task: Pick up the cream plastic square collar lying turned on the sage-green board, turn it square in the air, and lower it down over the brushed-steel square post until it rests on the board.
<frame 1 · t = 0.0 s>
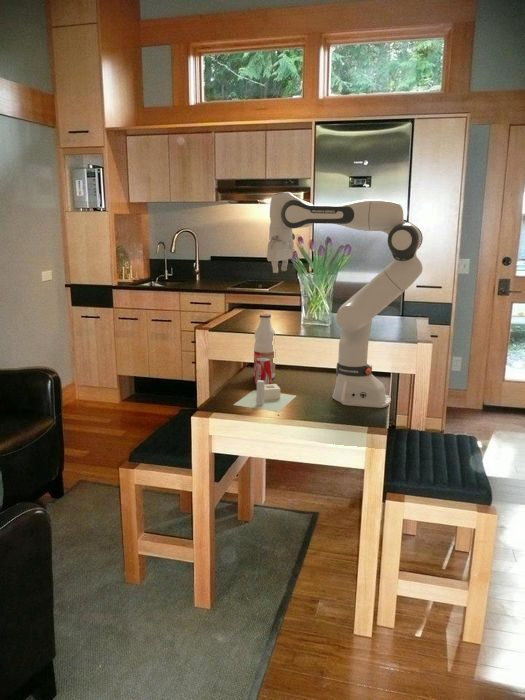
hand: (279, 271, 217), 48 cm above the table, tool pointing down, fingers open, 8 cm apart
square collar: (270, 396, 213), point 1 cm above the table, touching post board
post board: (265, 403, 209), on the table
fruit juice: (264, 377, 245), on the table
soda can: (263, 387, 230), on the table
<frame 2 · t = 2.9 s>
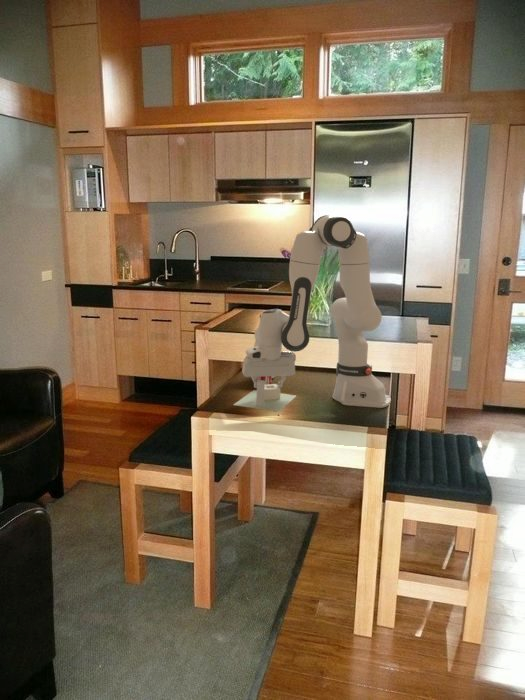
hand: (268, 386, 211), 6 cm above the table, tool pointing down, fingers open, 8 cm apart
square collar: (270, 396, 213), point 1 cm above the table, touching gripper, post board
everything else where it was.
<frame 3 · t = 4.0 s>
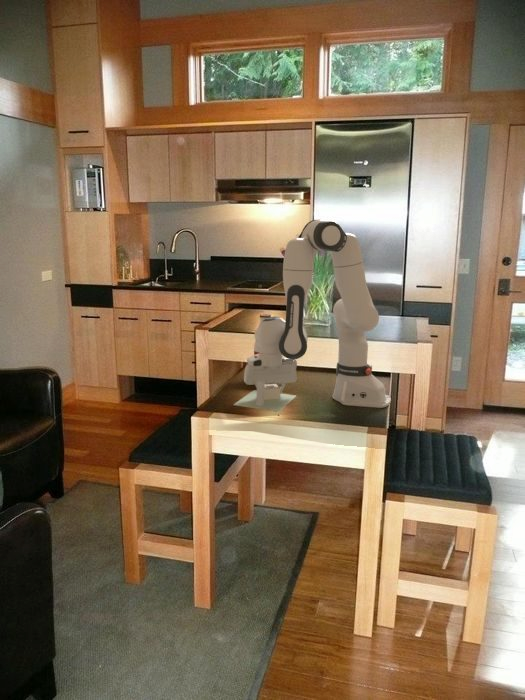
hand: (270, 394, 213), 3 cm above the table, tool pointing down, fingers closed on square collar, 6 cm apart
square collar: (270, 396, 213), point 2 cm above the table, touching gripper, post board
everything else where it was.
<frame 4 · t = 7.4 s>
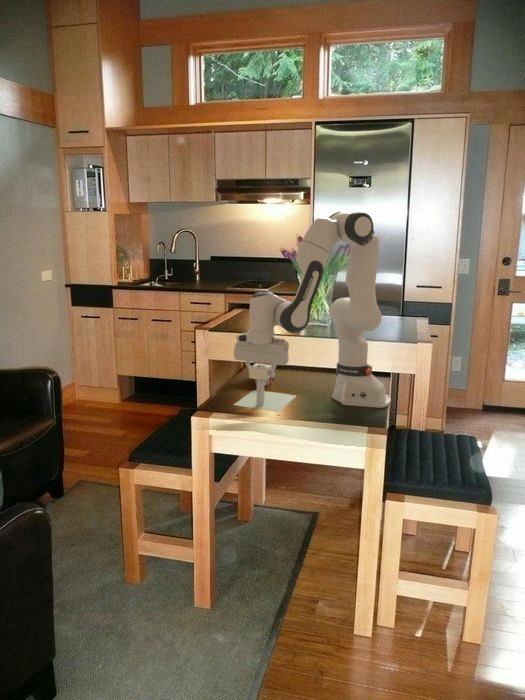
hand: (260, 374, 201), 13 cm above the table, tool pointing down, fingers closed on square collar, 6 cm apart
square collar: (260, 376, 201), point 12 cm above the table, touching gripper
everything else where it was.
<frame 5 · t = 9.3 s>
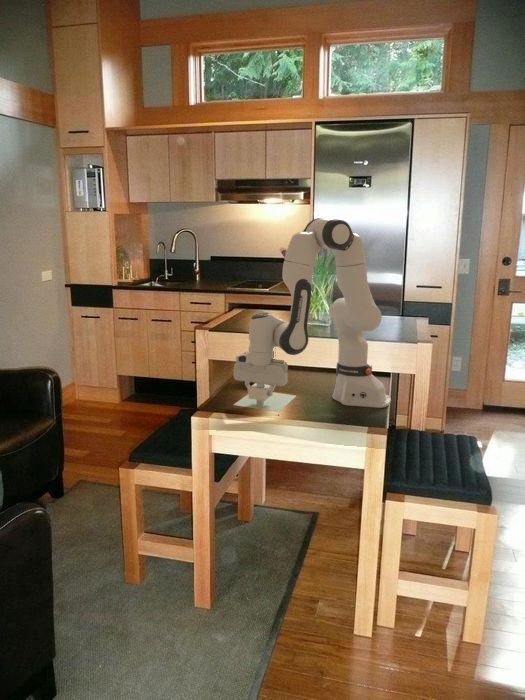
hand: (259, 394, 203), 6 cm above the table, tool pointing down, fingers closed on square collar, 6 cm apart
square collar: (259, 397, 203), point 4 cm above the table, touching gripper
everything else where it was.
when the fingers open (4 cm above the table, at t = 10.8 s): square collar drops 1 cm, resting on post board.
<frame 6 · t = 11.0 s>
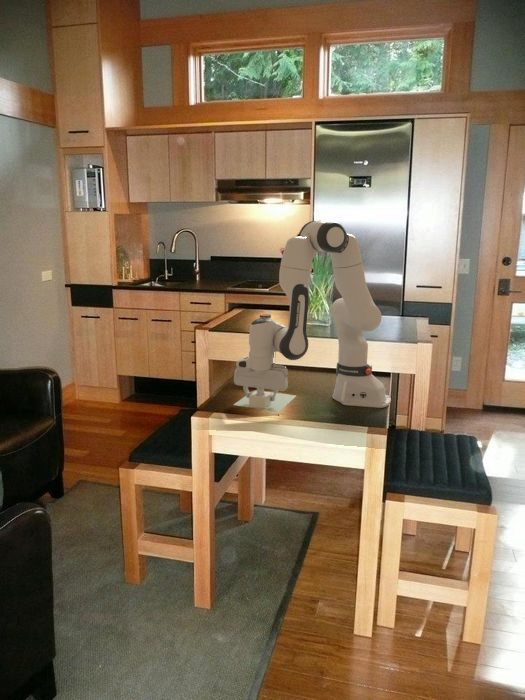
hand: (260, 399, 203), 4 cm above the table, tool pointing down, fingers open, 8 cm apart
square collar: (260, 404, 204), point 1 cm above the table, touching post board
everything else where it was.
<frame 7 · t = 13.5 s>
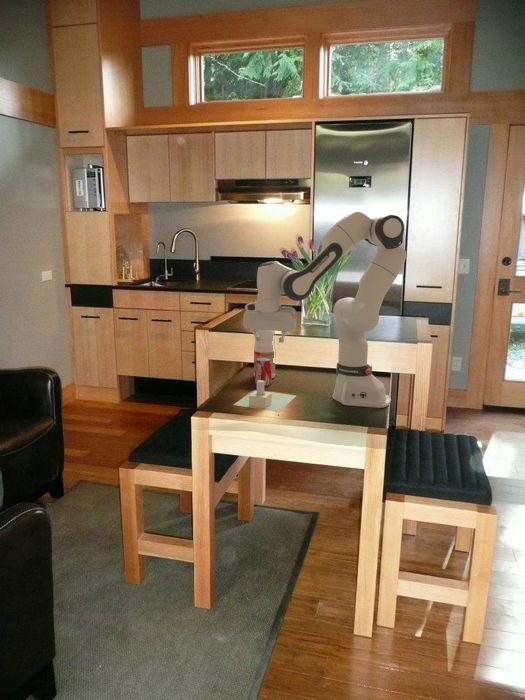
hand: (269, 341, 209), 23 cm above the table, tool pointing down, fingers open, 8 cm apart
nothing on the table moved.
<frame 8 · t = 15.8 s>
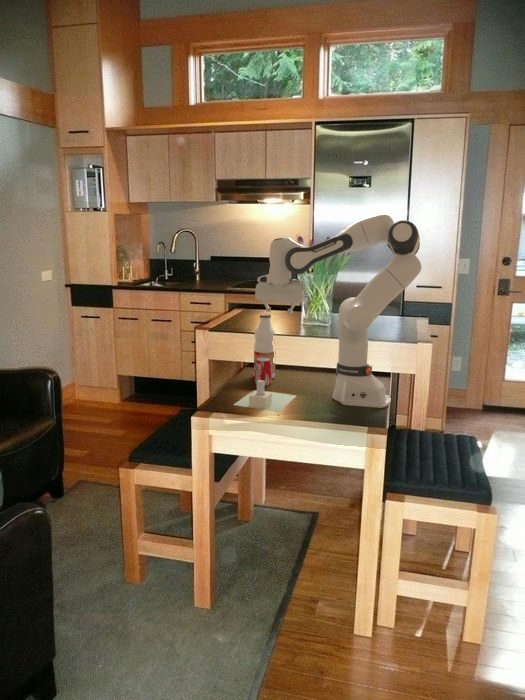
hand: (279, 312, 225), 31 cm above the table, tool pointing down, fingers open, 8 cm apart
nothing on the table moved.
at the end: square collar 0.0 cm from the target spot on the post board, point 1.5 cm above the post board's base; square collar tilted 0°; the gripper is holding nothing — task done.
